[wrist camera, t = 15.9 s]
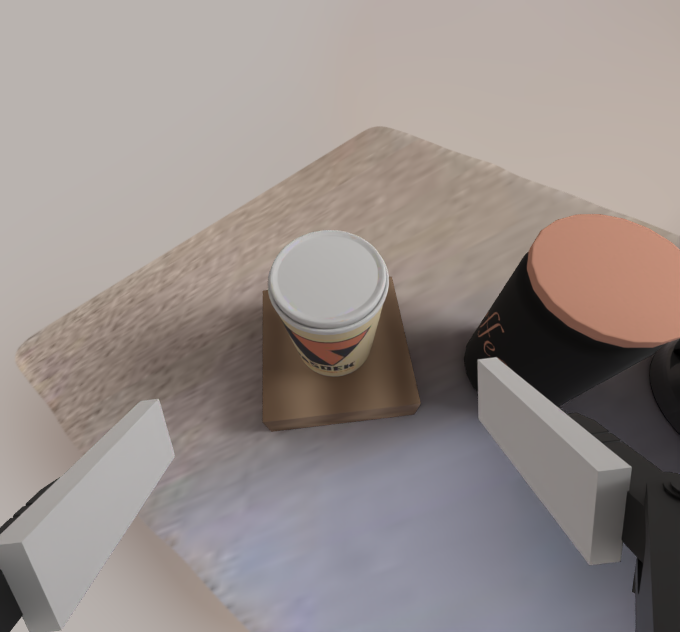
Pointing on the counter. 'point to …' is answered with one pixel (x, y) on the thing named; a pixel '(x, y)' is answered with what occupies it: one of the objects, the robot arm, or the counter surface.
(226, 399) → the counter surface
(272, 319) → the walnut riser
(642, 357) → the coffee jar
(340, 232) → the coffee cup
